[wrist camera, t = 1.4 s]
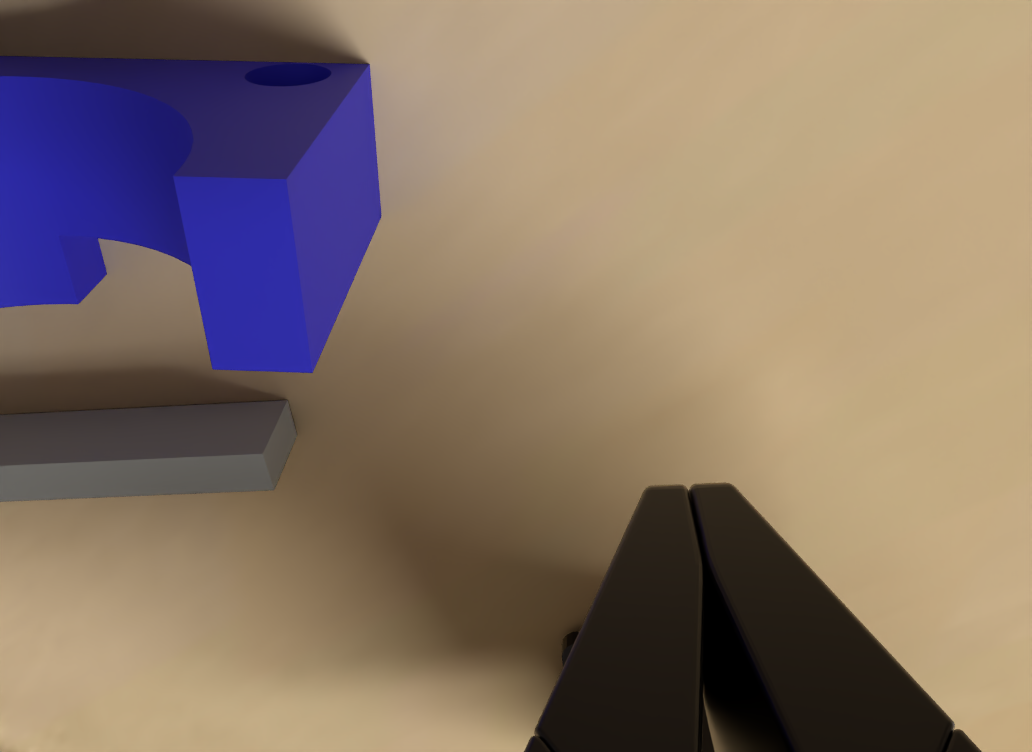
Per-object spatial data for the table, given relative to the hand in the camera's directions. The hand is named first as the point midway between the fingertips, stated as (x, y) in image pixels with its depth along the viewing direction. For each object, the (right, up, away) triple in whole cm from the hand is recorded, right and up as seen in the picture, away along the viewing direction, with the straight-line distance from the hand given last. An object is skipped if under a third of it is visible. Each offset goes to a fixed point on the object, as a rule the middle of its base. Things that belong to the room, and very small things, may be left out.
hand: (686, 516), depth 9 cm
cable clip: (-10, +6, +9) cm, 15 cm away
